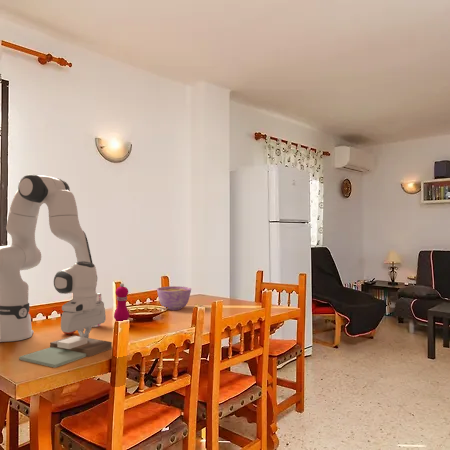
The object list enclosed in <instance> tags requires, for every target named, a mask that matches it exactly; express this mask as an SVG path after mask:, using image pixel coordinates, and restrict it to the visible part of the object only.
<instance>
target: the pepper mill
mask: <svg viewBox="0 0 450 450" xmlns="http://www.w3.org/2000/svg"><path fill="white" fill-rule="evenodd" d="M128 294H129V289H128V288H127V287H126V286H125V284H124V283H123V282H122V283H120V284H119V286H118V287H117V288H116V290H115V295H116V301H117V306H116V309H115V311H114V314H113V318H114V323H115V322H116V321H123V320H128V319H129V318H130V312H129V310H128V307H127V300H128V296H127V295H128Z"/></svg>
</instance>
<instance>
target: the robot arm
mask: <svg viewBox="0 0 450 450" xmlns="http://www.w3.org/2000/svg"><path fill="white" fill-rule="evenodd" d="M43 204H45V205H46V206H47V209H48V225H49V229H50V231H51V233H52V234H53V235H54V236H55V237H56V238H58V239H60V240H62V241H64V242H66V243H69V244H70V245H71V246H72V247H73V249H74V252H75V256H76V261H77V262H74V264H73V265H72V266H70V267H68V268H65V269H62V270H59V271H57V272H56V274H55V275H54V278H53V286H54V289H55V290H56V291H57V293H59V294H60V295H61V294H62V295H63V294H64V295H66V294H67V295H68V294H72V299H70V300H69V301H68V302H66V303H64V304H63V305H62V306H61V310H62V311H63V312H62V314H61V317H60V330H61V331H62V332H67V333H69V332H73V331H75V332H76V331H77V332H78V336H80V337H85V338H90V336H89V335H90V332H91V331H92V327H91V326H94V325H98V324H101V325H102V324H104V323H105V322H106V320H107V319H106V310H105V302H104V301H103V300H102V301H101V300H99V301H97V294H96V293H97V285H98V274H97V268H96V265H95V264H94V263H93V259H92V254H91V250H90V245H89V239H88V237H87V235H86V233H85V231H84V230H83V228H82V227H81V224H80V221H79V220H80V219H79V213H78V206H77V203H76V198H75V195H74V193H73V192H71V189H70V186H69V183H67V181H65V180H63V179H61V178H56V177H53V176H49V175H38V174H27V175H24V176H23V177H21V178H20V180H19V182H18V186H17V190H16V192H15V193H14V195H13V198H12V201H11V204H10V206H9V207H10V208H9V213H8V216H7V221H6V226H5V229H6V232H7V234H9V235H10V237H11V245H1V246H0V343H3V342H4V343H6V342H7V343H8V342H17V341H23V340H26V339H29V338H31V337H32V336H33V334H34V330H33V329H32V319H31V318H32V317H31V314H30V303H29V285H28V283H27V282H26V281H24V280H23V278H22V276H21V271H26V270H30V269H33V268H36V267H37V266H39V264H40V263H41V261H42V253H41V250H40V248H38V246H37V243H36V227H37V223H38V218H39V212H40V208H41V206H42V205H43ZM101 302H102V303H101Z"/></svg>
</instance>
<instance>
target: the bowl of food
mask: <svg viewBox="0 0 450 450" xmlns="http://www.w3.org/2000/svg"><path fill="white" fill-rule="evenodd" d="M156 291H157V296H158V297H157V298H158V300H159V303H160V305H161V307H163V306H164V307H163V308H165V307H168V309H167V310H168V311H169V310H170V311H176V310H177V311H178V310H181V309H183V308H184V307H186V306H187V305H188V303H189V300H190V297H191V292H192V288H191V287H189V286H174V285H173V286H162V287H158V288H156Z"/></svg>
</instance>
